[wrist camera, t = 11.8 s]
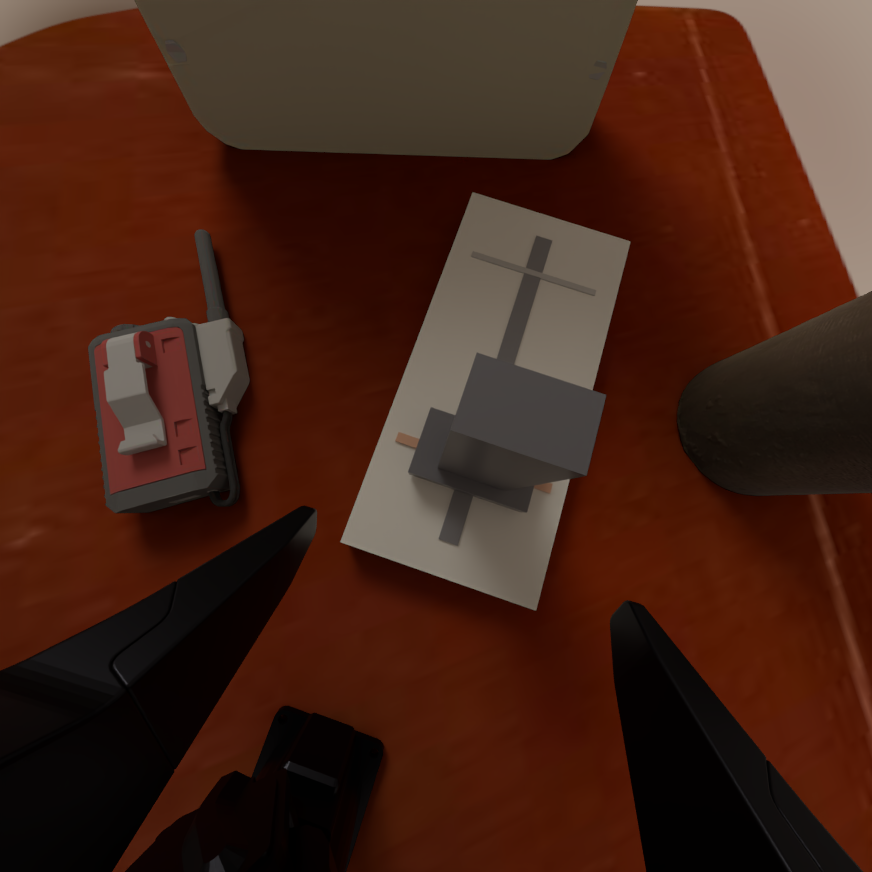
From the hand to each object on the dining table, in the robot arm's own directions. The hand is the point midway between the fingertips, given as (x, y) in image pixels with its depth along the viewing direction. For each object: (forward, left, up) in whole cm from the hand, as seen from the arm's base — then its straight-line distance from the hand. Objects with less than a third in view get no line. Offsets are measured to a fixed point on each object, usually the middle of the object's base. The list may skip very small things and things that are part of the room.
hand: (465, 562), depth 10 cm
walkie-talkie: (+4, +20, -14) cm, 25 cm away
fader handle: (+5, 0, -11) cm, 12 cm away
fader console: (+11, 0, -13) cm, 17 cm away
